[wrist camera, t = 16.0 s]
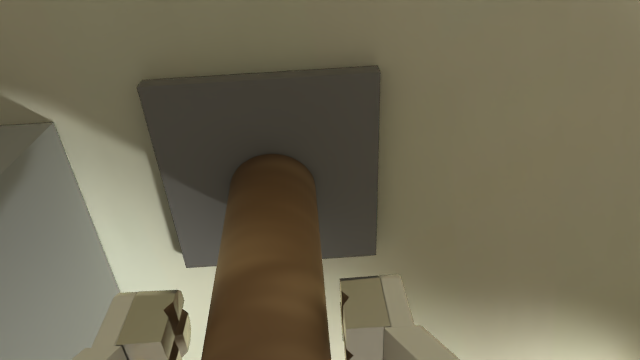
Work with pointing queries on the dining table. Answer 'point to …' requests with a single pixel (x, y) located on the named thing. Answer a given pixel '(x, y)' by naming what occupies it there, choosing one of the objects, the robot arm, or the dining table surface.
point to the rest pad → (268, 148)
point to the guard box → (47, 251)
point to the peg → (269, 268)
